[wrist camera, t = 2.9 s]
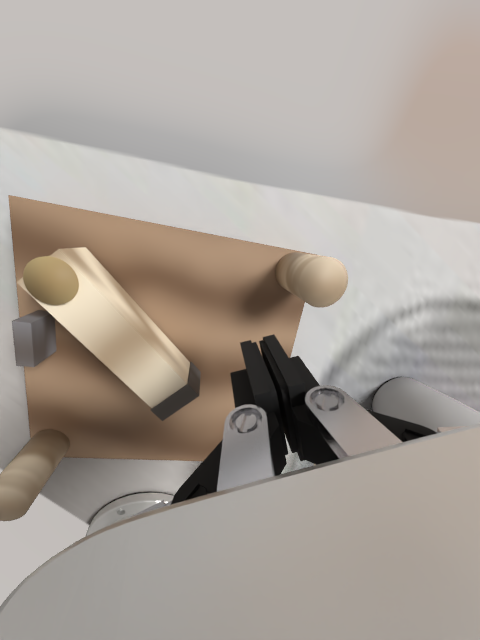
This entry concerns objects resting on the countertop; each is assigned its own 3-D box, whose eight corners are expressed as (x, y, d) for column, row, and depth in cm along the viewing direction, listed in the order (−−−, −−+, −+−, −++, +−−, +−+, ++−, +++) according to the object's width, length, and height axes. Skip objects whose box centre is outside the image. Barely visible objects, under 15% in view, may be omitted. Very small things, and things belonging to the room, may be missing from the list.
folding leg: (46, 271, 16) (7, 279, 13) (84, 242, 16) (53, 242, 12) (169, 393, 20) (162, 422, 17) (200, 371, 19) (199, 396, 16)
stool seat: (36, 201, 17) (-89, 173, 10) (304, 253, 20) (356, 260, 13) (50, 433, 23) (-22, 522, 15) (257, 442, 26) (275, 518, 19)
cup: (406, 354, 25) (501, 408, 17) (447, 407, 28) (542, 474, 20) (349, 401, 26) (413, 473, 18) (394, 447, 29) (465, 526, 21)
